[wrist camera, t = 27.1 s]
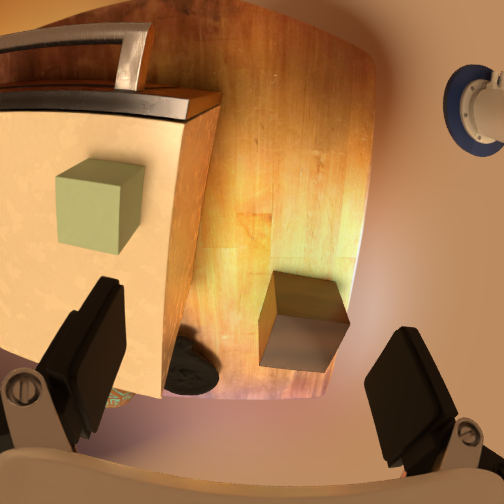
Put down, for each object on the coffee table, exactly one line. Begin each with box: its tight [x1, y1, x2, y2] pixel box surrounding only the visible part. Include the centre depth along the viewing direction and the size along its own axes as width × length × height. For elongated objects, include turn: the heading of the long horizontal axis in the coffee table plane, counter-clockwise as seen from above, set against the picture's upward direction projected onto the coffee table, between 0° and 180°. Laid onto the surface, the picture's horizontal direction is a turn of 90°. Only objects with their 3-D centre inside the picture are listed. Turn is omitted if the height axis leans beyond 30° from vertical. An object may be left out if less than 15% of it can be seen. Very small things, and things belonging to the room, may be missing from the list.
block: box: [55, 158, 145, 255], centre depth 21 cm, size 5×5×5 cm
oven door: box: [0, 22, 223, 120], centre depth 29 cm, size 8×40×26 cm, turn 78°
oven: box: [0, 105, 221, 399], centre depth 38 cm, size 32×40×26 cm
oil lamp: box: [164, 336, 219, 395], centre depth 67 cm, size 15×20×5 cm
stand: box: [258, 271, 350, 373], centre depth 56 cm, size 12×12×12 cm
